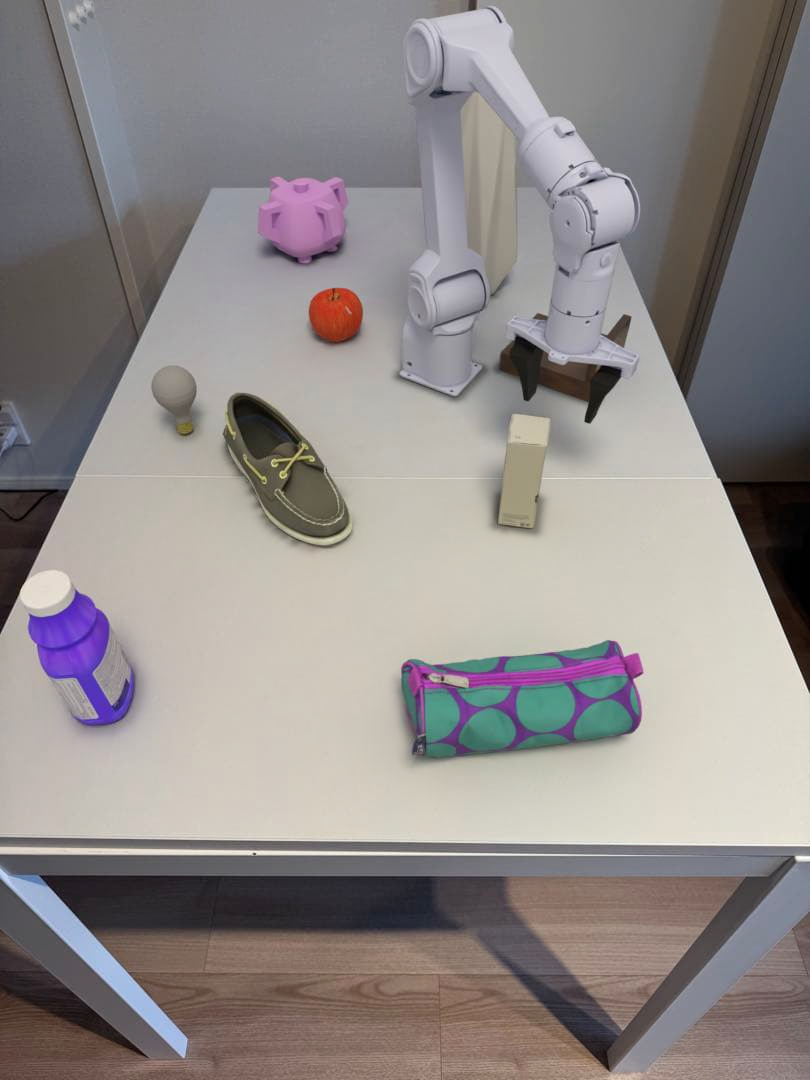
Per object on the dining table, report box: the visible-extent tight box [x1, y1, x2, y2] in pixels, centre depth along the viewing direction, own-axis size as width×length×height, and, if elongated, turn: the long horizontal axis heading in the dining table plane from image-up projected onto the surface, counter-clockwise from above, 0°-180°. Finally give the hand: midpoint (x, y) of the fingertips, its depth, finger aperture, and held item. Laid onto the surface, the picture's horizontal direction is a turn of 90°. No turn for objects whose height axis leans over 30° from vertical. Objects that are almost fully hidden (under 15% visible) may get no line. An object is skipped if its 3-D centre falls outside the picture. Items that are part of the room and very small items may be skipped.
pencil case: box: [400, 639, 645, 758], centre depth 70 cm, size 21×9×10 cm, turn 97°
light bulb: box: [151, 365, 198, 435], centre depth 99 cm, size 6×5×10 cm
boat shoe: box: [222, 392, 354, 546], centre depth 93 cm, size 24×10×7 cm, turn 27°
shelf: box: [498, 312, 633, 403], centre depth 109 cm, size 14×12×7 cm
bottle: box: [19, 569, 135, 726], centre depth 69 cm, size 7×6×17 cm
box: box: [497, 413, 551, 529], centre depth 87 cm, size 5×4×13 cm
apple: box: [308, 287, 364, 343], centre depth 114 cm, size 8×8×8 cm
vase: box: [461, 55, 519, 296], centre depth 114 cm, size 12×12×33 cm
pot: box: [257, 176, 350, 264], centre depth 130 cm, size 18×17×12 cm
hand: (559, 407), depth 89 cm, fingers open, 7 cm apart
